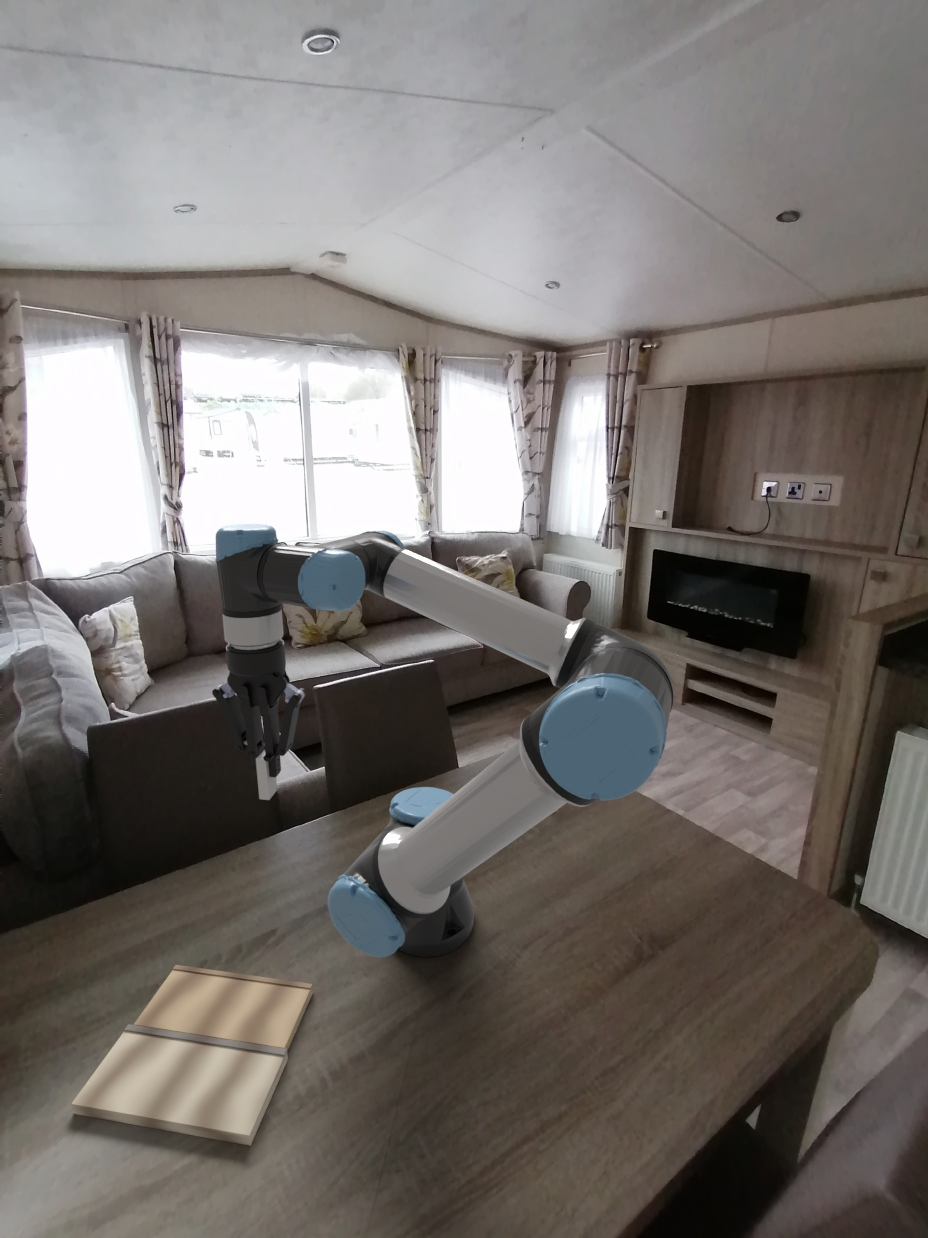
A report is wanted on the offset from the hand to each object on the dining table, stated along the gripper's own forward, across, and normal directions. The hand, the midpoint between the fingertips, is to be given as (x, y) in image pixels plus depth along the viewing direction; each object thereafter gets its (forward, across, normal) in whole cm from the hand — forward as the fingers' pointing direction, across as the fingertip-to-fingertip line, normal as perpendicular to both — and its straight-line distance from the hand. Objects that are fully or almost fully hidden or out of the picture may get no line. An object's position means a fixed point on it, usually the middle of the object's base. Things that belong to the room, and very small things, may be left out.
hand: (268, 794), depth 89 cm
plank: (+26, +2, +13) cm, 29 cm away
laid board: (+26, +2, +23) cm, 35 cm away
